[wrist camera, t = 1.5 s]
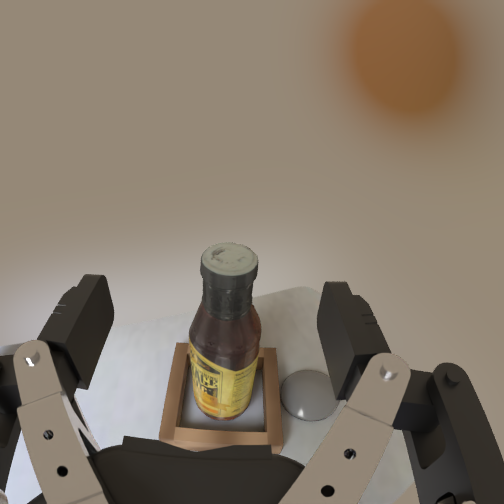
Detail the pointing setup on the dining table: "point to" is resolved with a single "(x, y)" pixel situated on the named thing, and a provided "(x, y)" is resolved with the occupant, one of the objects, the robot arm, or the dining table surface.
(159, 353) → the dining table surface
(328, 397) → the coaster
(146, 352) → the dining table surface
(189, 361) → the pocket frame
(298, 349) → the dining table surface
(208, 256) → the sauce bottle
